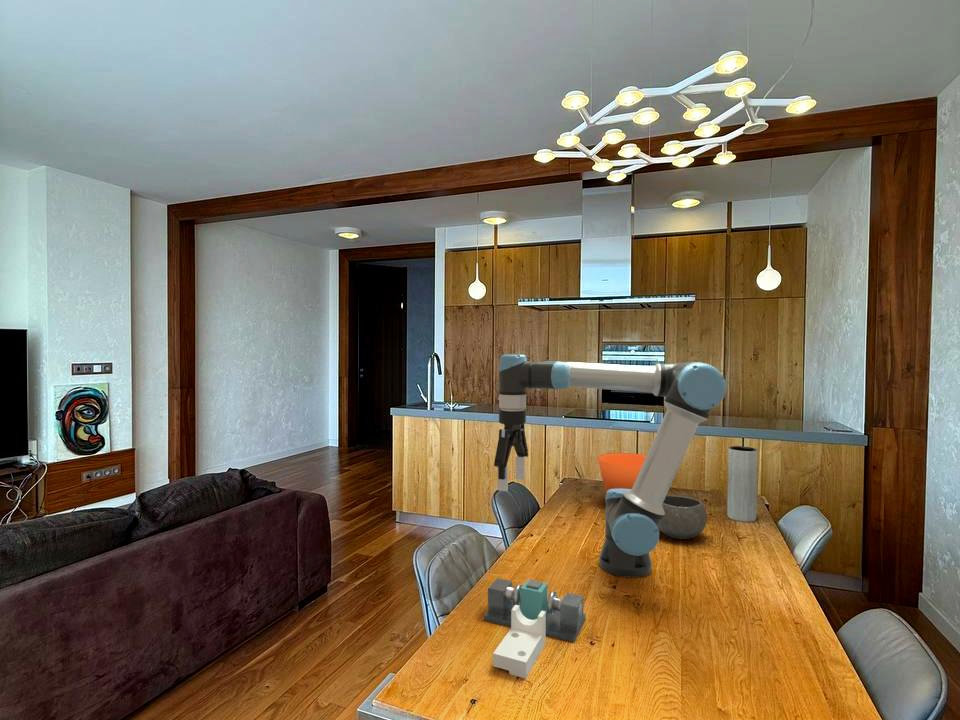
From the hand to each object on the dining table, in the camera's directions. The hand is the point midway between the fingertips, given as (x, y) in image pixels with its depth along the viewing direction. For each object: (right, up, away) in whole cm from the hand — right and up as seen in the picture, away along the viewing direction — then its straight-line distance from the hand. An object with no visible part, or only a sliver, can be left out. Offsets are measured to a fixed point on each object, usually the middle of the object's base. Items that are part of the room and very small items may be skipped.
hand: (511, 484), depth 144 cm
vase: (+92, -26, +54) cm, 110 cm away
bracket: (0, -28, -36) cm, 45 cm away
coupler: (+4, -26, -21) cm, 34 cm away
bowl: (+60, -27, +35) cm, 74 cm away
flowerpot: (+52, -26, +68) cm, 90 cm away
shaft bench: (+4, -27, -21) cm, 35 cm away
